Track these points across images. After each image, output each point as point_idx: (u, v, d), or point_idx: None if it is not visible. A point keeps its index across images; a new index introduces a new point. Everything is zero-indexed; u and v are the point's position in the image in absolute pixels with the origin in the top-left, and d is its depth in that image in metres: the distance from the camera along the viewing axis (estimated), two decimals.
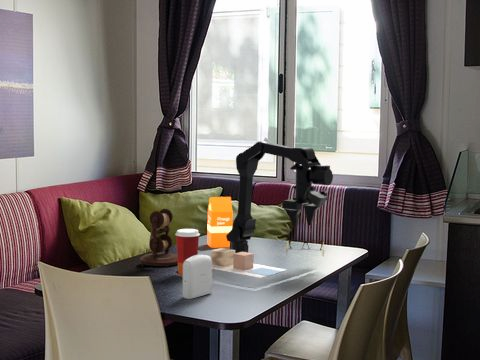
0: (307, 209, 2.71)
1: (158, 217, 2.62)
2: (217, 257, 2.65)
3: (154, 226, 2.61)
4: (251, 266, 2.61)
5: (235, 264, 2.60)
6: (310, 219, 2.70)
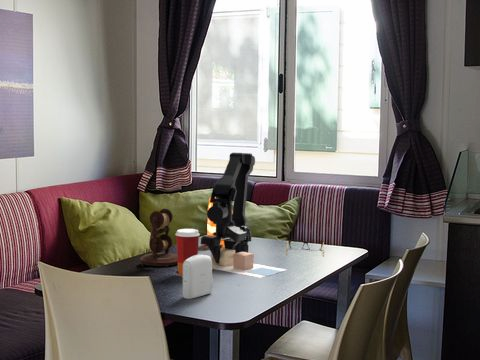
0: (226, 244, 2.70)
1: (158, 217, 2.62)
2: None
3: (154, 226, 2.61)
4: (251, 266, 2.61)
5: (235, 264, 2.60)
6: None
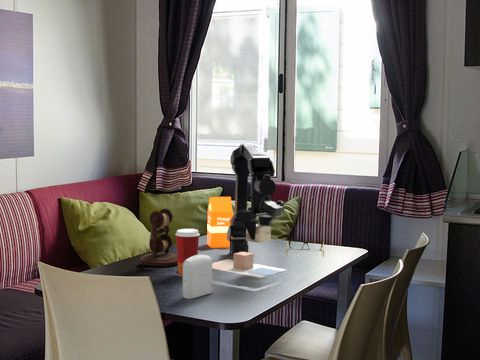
0: (262, 220, 2.59)
1: (158, 217, 2.62)
2: None
3: (154, 226, 2.61)
4: (251, 266, 2.61)
5: (235, 264, 2.60)
6: None
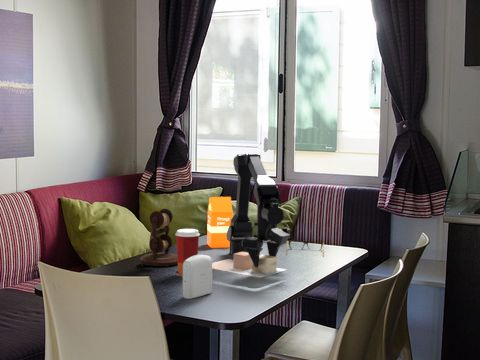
0: (270, 246, 2.60)
1: (158, 217, 2.62)
2: None
3: (154, 226, 2.61)
4: (251, 266, 2.61)
5: (235, 264, 2.60)
6: None
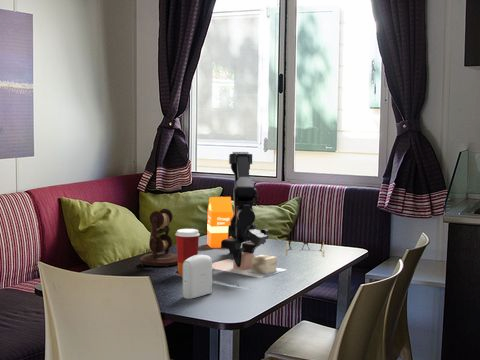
0: (246, 247, 2.64)
1: (158, 217, 2.62)
2: (258, 264, 2.54)
3: (154, 226, 2.61)
4: (251, 266, 2.61)
5: (235, 264, 2.60)
6: None
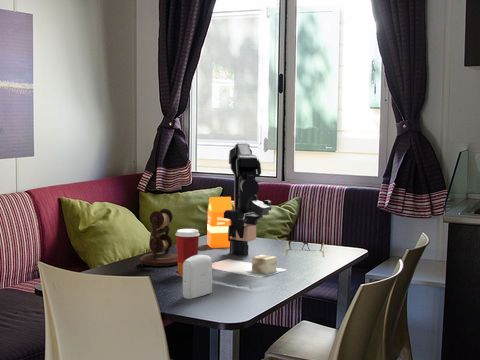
0: (248, 219, 2.62)
1: (158, 217, 2.62)
2: (258, 264, 2.54)
3: (154, 226, 2.61)
4: (254, 238, 2.59)
5: (238, 236, 2.59)
6: None
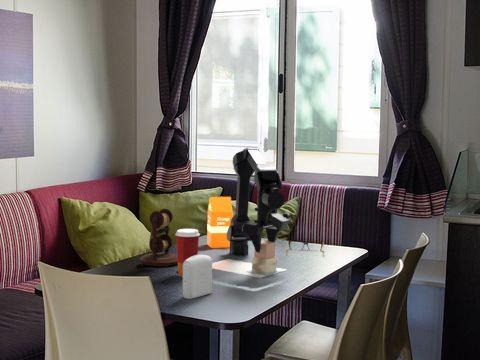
0: (269, 232, 2.59)
1: (158, 217, 2.62)
2: (258, 264, 2.54)
3: (154, 226, 2.61)
4: (273, 255, 2.55)
5: (256, 253, 2.55)
6: None
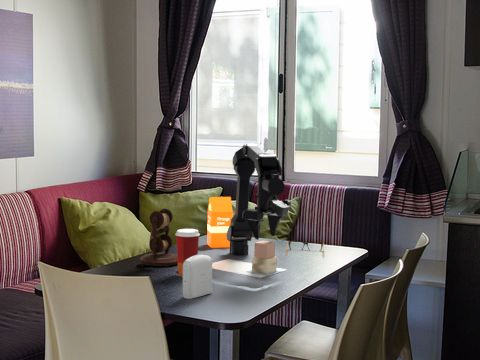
0: (270, 218, 2.59)
1: (158, 217, 2.62)
2: (258, 264, 2.54)
3: (154, 226, 2.61)
4: (273, 255, 2.55)
5: (256, 253, 2.55)
6: (273, 229, 2.58)
